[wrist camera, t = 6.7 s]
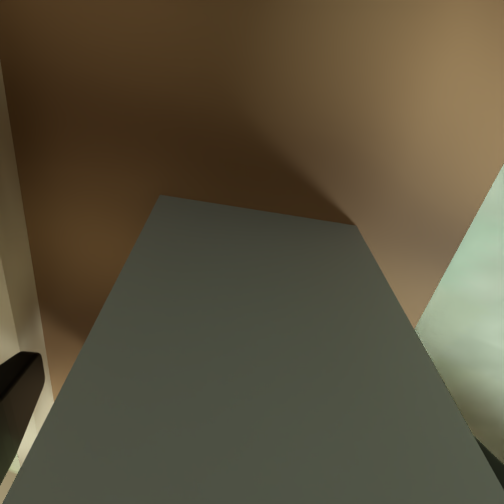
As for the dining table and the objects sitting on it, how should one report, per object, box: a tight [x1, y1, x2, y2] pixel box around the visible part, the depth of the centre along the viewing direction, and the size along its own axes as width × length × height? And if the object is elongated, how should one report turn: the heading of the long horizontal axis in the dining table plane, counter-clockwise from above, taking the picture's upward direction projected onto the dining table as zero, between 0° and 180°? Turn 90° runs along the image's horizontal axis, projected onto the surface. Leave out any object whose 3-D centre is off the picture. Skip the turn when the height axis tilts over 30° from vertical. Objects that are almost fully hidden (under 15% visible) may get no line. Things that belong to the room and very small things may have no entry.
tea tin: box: [3, 195, 504, 504], centre depth 8 cm, size 5×7×7 cm
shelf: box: [0, 0, 504, 466], centre depth 9 cm, size 24×12×3 cm, turn 170°
